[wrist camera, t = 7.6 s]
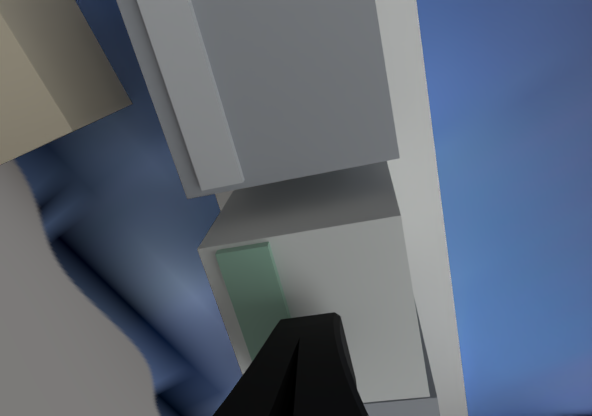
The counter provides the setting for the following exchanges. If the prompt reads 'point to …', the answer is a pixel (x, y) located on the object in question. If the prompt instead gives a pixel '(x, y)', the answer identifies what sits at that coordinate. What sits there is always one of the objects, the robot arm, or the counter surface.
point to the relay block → (50, 75)
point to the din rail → (309, 125)
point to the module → (321, 272)
